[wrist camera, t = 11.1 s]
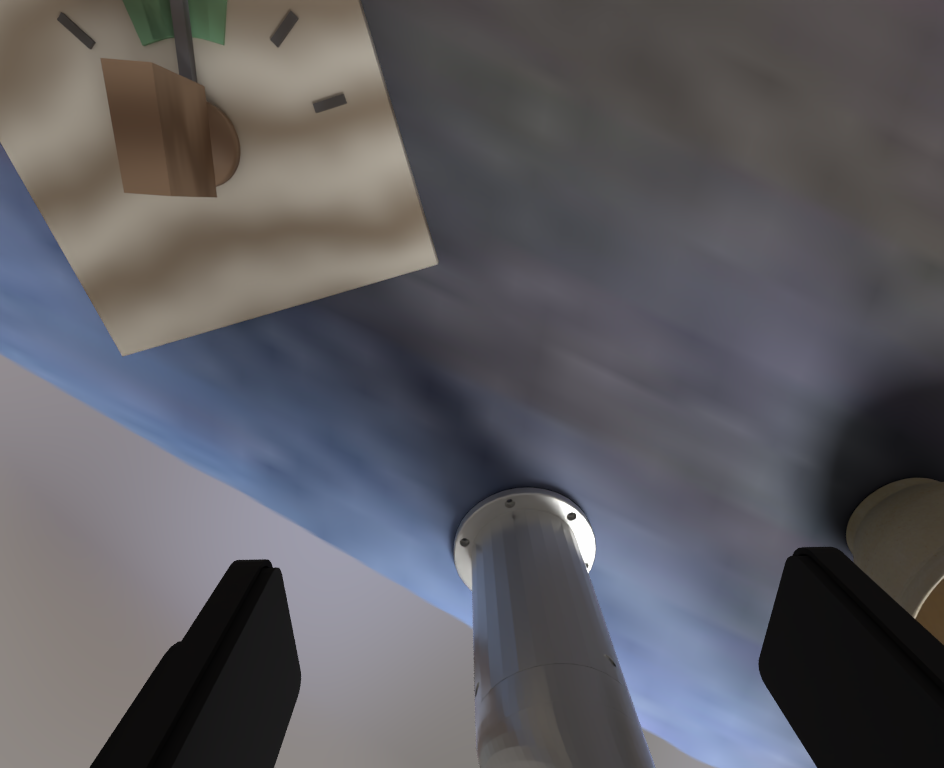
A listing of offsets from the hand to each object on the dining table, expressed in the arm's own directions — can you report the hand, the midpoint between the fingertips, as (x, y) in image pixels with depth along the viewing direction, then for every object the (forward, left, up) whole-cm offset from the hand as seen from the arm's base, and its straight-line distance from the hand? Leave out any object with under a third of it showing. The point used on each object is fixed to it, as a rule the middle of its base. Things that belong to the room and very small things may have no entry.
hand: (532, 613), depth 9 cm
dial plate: (+15, +14, -28) cm, 35 cm away
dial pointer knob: (+18, +13, -26) cm, 34 cm away
